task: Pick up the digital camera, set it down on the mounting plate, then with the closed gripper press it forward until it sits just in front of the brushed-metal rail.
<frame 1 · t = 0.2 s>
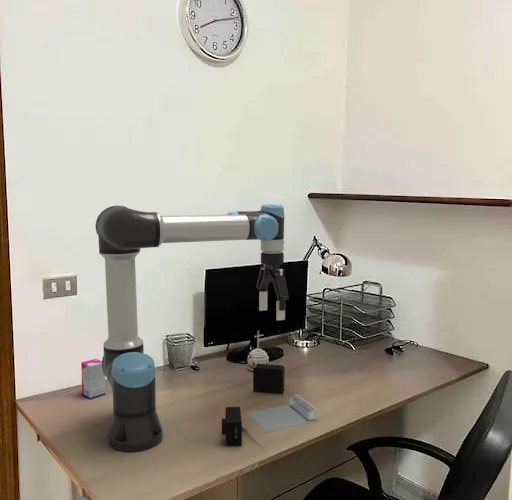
hand: (271, 315, 184), 28 cm above the table, fingers open, 13 cm apart
mounting plate: (282, 421, 167), on the table
supplement box: (93, 395, 187), on the table
digital camera: (231, 438, 157), on the table
decorative ornament: (257, 369, 212), on the table
electronic device: (268, 395, 187), on the table
rail: (301, 412, 170), resting on mounting plate
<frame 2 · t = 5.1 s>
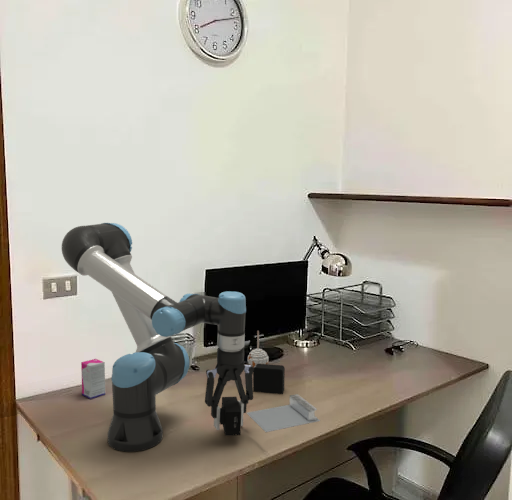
hand: (228, 425, 157), 3 cm above the table, fingers closed on digital camera, 6 cm apart
digital camera: (228, 427, 157), point 3 cm above the table, touching gripper
everything else where it was.
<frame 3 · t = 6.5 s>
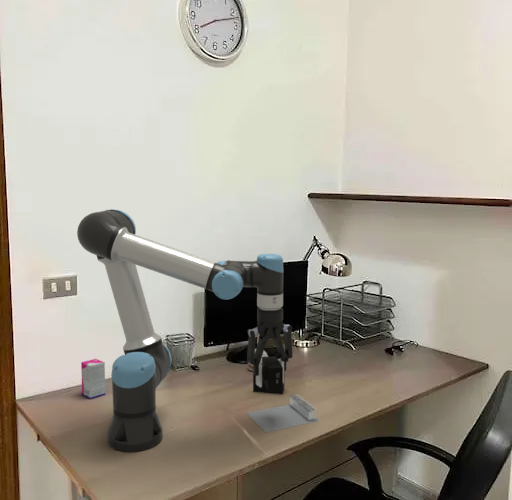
hand: (269, 383, 163), 13 cm above the table, fingers closed on digital camera, 6 cm apart
digital camera: (270, 385, 163), point 12 cm above the table, touching gripper
everything else where it was.
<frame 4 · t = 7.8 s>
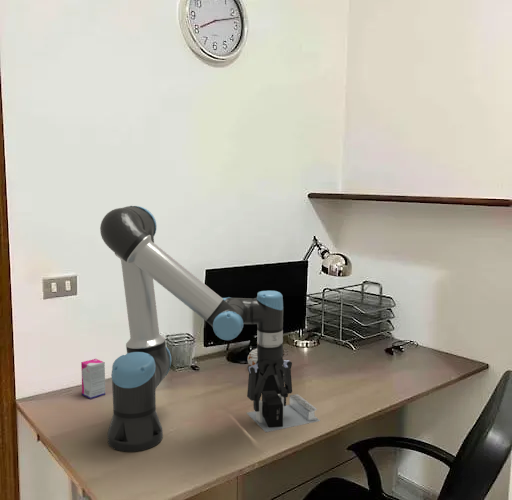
hand: (269, 418, 165), 2 cm above the table, fingers closed on digital camera, 6 cm apart
digital camera: (270, 420, 165), point 1 cm above the table, touching gripper, mounting plate
everything else where it was.
when the fingers open (2 cm above the table, at t = 8.0 s): digital camera stays where it is, resting on mounting plate.
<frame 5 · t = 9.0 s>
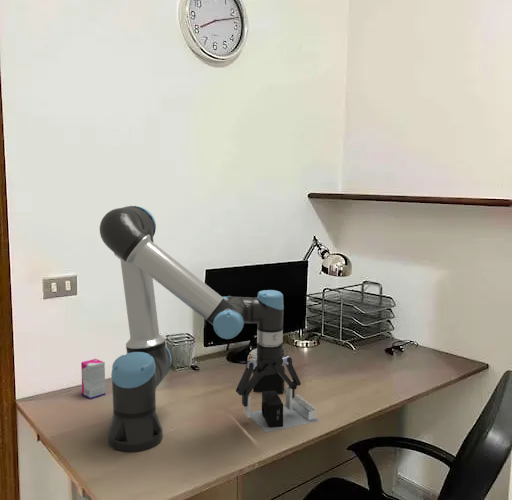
hand: (268, 412, 165), 4 cm above the table, fingers open, 13 cm apart
digital camera: (270, 420, 165), point 1 cm above the table, touching mounting plate
everything else where it was.
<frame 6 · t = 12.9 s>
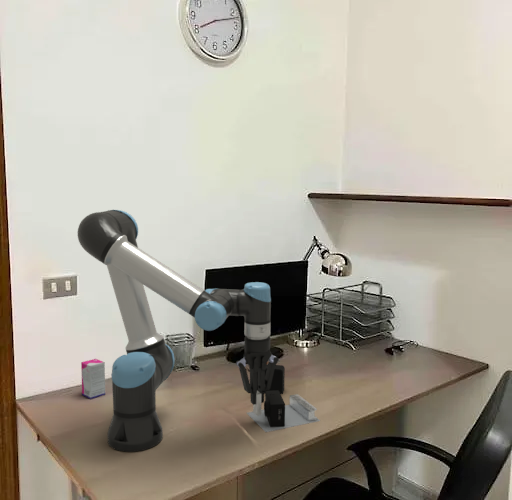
hand: (257, 413, 163), 4 cm above the table, fingers closed
digital camera: (272, 419, 165), point 1 cm above the table, touching gripper, mounting plate
everything else where it was.
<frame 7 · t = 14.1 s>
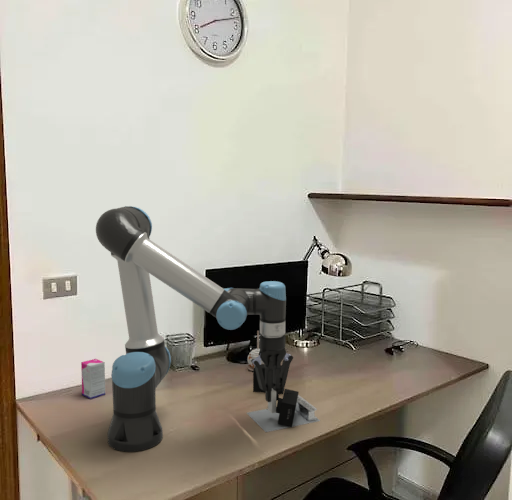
hand: (272, 411, 165), 4 cm above the table, fingers closed
digital camera: (284, 418, 165), point 2 cm above the table
everything else where it was.
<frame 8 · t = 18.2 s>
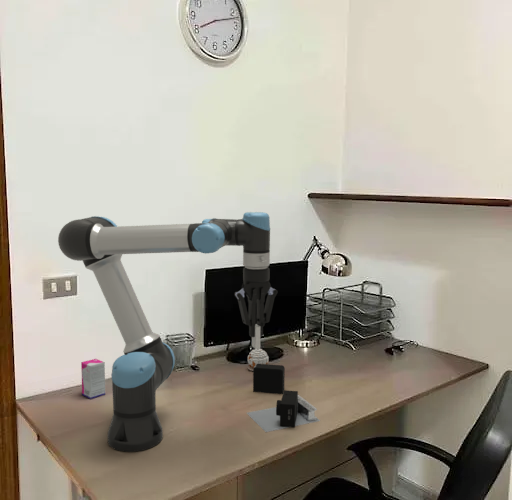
hand: (256, 347, 160), 24 cm above the table, fingers closed
digital camera: (287, 419, 165), point 1 cm above the table, touching mounting plate
everything else where it was.
at the end: digital camera inside the target area on the mounting plate (2.9 cm from its centre), point 1.3 cm above the mounting plate's base; digital camera tilted 0°; the gripper is holding nothing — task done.
